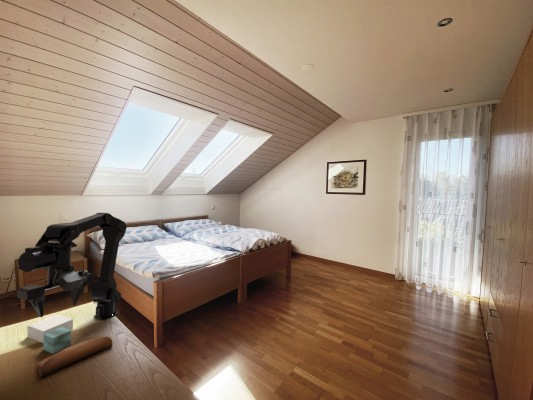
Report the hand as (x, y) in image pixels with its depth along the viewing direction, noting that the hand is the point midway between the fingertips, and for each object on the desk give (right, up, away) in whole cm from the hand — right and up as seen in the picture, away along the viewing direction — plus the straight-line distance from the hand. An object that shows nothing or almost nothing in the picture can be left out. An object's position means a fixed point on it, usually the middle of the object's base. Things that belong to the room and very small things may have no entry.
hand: (58, 310), depth 79 cm
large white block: (-9, -12, +8) cm, 17 cm away
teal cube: (0, -12, 0) cm, 12 cm away
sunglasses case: (+9, -13, -4) cm, 16 cm away
